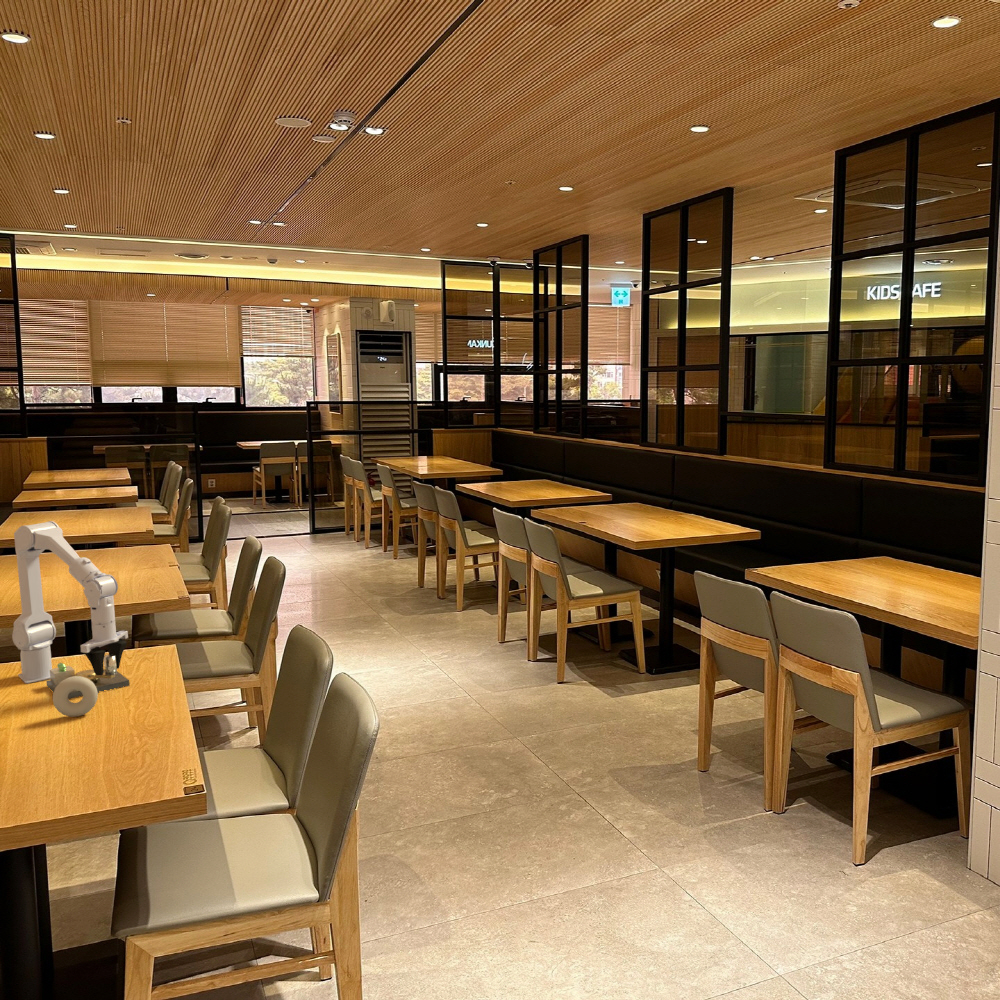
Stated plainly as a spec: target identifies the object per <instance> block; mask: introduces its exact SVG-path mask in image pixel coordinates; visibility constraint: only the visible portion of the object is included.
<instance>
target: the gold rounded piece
mask: <svg viewBox="0 0 1000 1000" xmlns="http://www.w3.org/2000/svg"><path fill="white" fill-rule="evenodd" d="M103 668H104V669H105V673H103V675H95V672H94V670H93V669H86V670H81V671H78V672H75V676H82V677H85V678H88V679H89V680H90V681H92V682H96V681H98V680H100V678H113V677H115V674H117V671H118V669H117V665H116V655H115V654H109V653H108V654H105V655H104V662H103Z"/></svg>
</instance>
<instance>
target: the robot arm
mask: <svg viewBox="0 0 1000 1000" xmlns="http://www.w3.org/2000/svg"><path fill="white" fill-rule="evenodd" d="M13 536H14V547H15V548H14V549H15V554H16V563H17V565H16V566H17V573H18V583H19V585H18V586H19V596H20V605H21V614H20V615H19V616H18V617H17V619H15V620H14V622H13V630H12V635H11V637H12V642H13V645H14V646H15V647H16V648H17V650H20V665H21V666H20V668H21V673H18V674H17V676H18V677H19V678H20V680H21V681H22V682H23V683H24V684H31V683H35V682H41V681H45V680H46V681H47V680H51V679H50V669H53V664H52V651H51V645H52V644H53V640H55V638H56V635H57V629H56V626H55V624H54V621H53V616H52V615H51V614H50V613H48V612H46V611H45V608H44V606H45V605H44V596H43V587H42V585H43V583H42V576H41V565H40V555H41V554H42V553H43V552H44V551H45V550H49V551H51V552H52V553H53V554H54V555H56V557H58V558H59V559H60V560H62V561H63V563H65V564H66V565H67V566H68V572H69V574H70V575H71V576H72V577H73V578H74V579H75V580H76V582H78V583H79V584H80V585H81V586H82V587H83V588H84V589H83V594H84V596H85V597H86V599H87V604H88V607H90V618H91V631H92V633H91V634H92V639H90V640H88V641H86V642H85V643H83V644H80V653H83V654H84V655H85V656H86V658H87V659H88V660H89V663H90V665H91V667H92V670H94V672H95V675H103V671H104V656H105V655H106V650H104V649H101V647H104V646H105V647H106V649H107V651H108V654H115V655H116V665H117V670H119V668H120V665H121V659H122V656H123V653H124V650H125V649H126V647H127V644H128V643H127V640H126V639H129V634H128V633H129V631H128V630H120V631H117V627H116V613H115V601H114V599H115V598H114V596H115V595H116V594H117V593H118V590H119V585H118V582H117V580H116V578H115V577H114V576H113V575H112V574H108V573H105V572H102V571H101V570H100V569H99V568H98V567H97V566H96V565H95V564H94V563H93V562H92V560H91V559H89V557H88V558H87V557H80V556H79V554H78V553H77V552H76V550H75V549H74V548H73V547H72V546H71V545H70V544H69V543H68V541H67V540H66V539H65V537H64V532H63V529H62V528H61V527H60V526H59V525H58V523H57V522H55V521H53V520H49V521H46V522H41V523H33V524H27V525H20V526H19V527H18V528H17V529H16V531H14V533H13ZM124 639H125V640H124Z"/></svg>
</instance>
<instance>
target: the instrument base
mask: <svg viewBox="0 0 1000 1000" xmlns="http://www.w3.org/2000/svg"><path fill="white" fill-rule="evenodd" d="M75 671H76V670H75V669H74V668H73V667H72V666H71V665H66V664H65V663H63V662H59V663H58V664H57V667H55V668H52V669H50V679H48V680H46V687H47V686H48V687H47V688H48V689H49V688H50V689H51V690H52V691H53V692H54V690H55V688H56V687H57V685H58V684H59V683H60V682H61V681H63V680H65V679H66V678H69V677H73V676H75V674H76V672H75ZM103 673H105V669H104V671H103ZM93 683H94V685H95V686H96V688H97V692H98V693H100V692H99V691H103V692H105V691H104V690H107V691H111V690H110V689H112V690H115V689H114V688H116V689H119V688H118V687H121V688H125V686H126V687H130V679H129V678H127V677H126V676H124V675H123V674H121V672H119V671H118V670H117V674H115V677H113V678H100V680H98V681H96V682H93ZM123 686H124V687H123ZM50 689H49V690H50ZM51 690H50V691H51ZM52 691H51V692H52ZM53 692H52V693H53ZM79 696H80V697H83V694H82V692H81V691H79V690H73V691H71V692H70V693H69V694H68V699H74V698H78V697H79Z"/></svg>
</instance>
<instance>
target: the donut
mask: <svg viewBox="0 0 1000 1000" xmlns="http://www.w3.org/2000/svg"><path fill="white" fill-rule="evenodd" d="M73 690H79V691H81V692H82V694H83V696H82V699H80V700H79V701H77V702H72V701H70V700H69V699H68V694H69V693H70V692H71V691H73ZM98 695H99V692H97V688H96V686H95V685H94V683H93V682H92V681H90V680H89V679H88V678H85V677H82V676H73V677H69V678H66V679H65V680H63V681H61V682H60V683H59V684H58V685H57V687H56V688H55V690H54V692H52V703H53V707H54V708H55V709H56V711H58V712H59V713H60V714H61V715H63V716H66V717H69V718H70V717H73V718H74V717H75V718H77V717H80V716H85V715H86V714H88V713H89V712H90V711H92V709H93V708H94V707H95V705H96V704H97V701H98V697H99V696H98Z"/></svg>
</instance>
